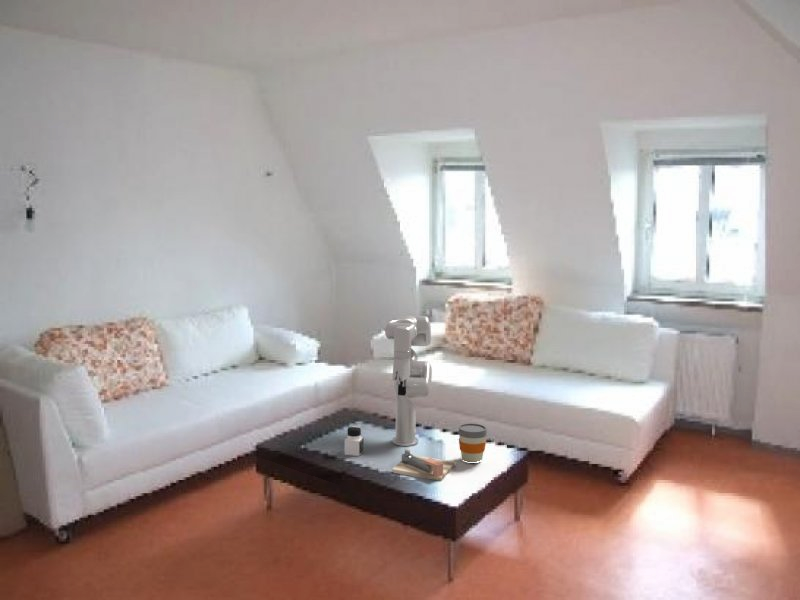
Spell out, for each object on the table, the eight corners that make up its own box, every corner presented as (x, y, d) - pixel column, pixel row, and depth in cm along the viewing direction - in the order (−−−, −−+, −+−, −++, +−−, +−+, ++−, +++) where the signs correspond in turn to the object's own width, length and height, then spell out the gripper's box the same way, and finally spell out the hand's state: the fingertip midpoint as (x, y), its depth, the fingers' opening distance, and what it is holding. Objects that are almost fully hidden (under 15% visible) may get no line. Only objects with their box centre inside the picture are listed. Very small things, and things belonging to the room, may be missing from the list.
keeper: (423, 471, 275) (423, 459, 274) (430, 469, 277) (430, 457, 277) (436, 476, 269) (436, 465, 268) (443, 474, 272) (443, 462, 271)
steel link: (399, 460, 285) (399, 455, 285) (407, 458, 288) (407, 452, 288) (426, 472, 272) (427, 467, 272) (435, 469, 275) (435, 464, 275)
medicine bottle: (359, 456, 296) (359, 430, 294) (344, 455, 297) (344, 429, 296) (363, 450, 303) (363, 425, 301) (348, 449, 304) (348, 424, 302)
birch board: (408, 457, 294) (408, 443, 293) (455, 465, 286) (455, 450, 285) (392, 472, 277) (392, 456, 276) (441, 480, 269) (441, 464, 268)
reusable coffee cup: (482, 467, 284) (483, 433, 282) (454, 463, 288) (455, 430, 286) (488, 457, 296) (489, 425, 294) (461, 453, 300) (462, 421, 298)
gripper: (400, 350, 296) (400, 389, 299) (387, 356, 283) (387, 398, 285) (416, 351, 294) (415, 391, 296) (403, 358, 280) (403, 400, 282)
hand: (401, 394), depth 291 cm, fingers closed
